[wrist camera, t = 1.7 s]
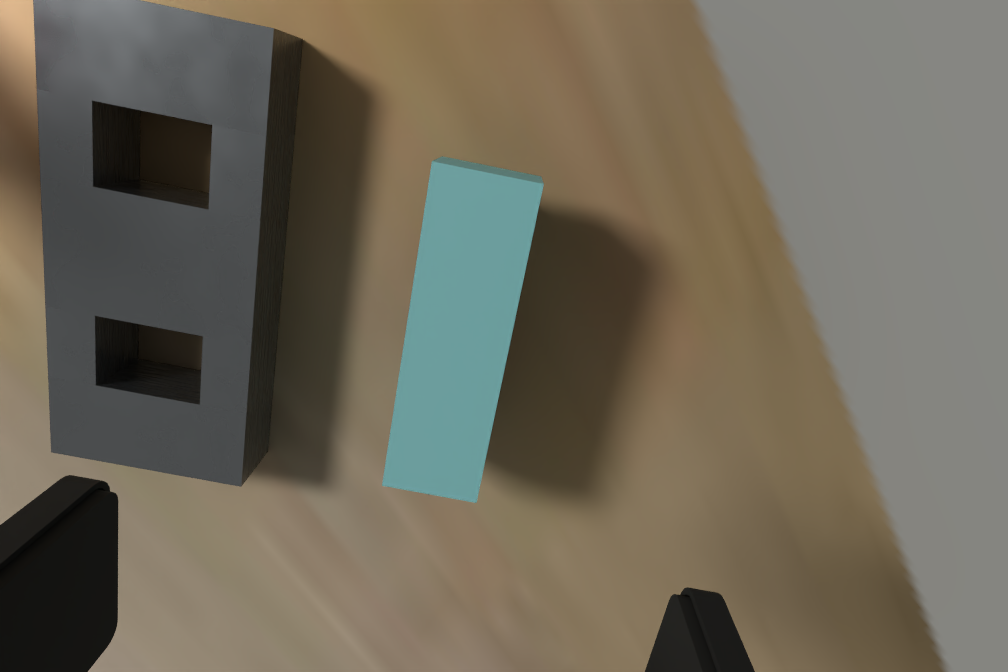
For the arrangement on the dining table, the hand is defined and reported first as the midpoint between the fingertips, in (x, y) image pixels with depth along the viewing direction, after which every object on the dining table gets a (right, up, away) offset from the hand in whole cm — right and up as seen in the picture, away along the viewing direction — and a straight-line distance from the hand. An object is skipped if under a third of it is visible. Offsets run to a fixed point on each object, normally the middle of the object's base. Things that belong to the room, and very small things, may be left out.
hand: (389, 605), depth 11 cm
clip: (0, +6, +17) cm, 18 cm away
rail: (-11, +8, +16) cm, 21 cm away
